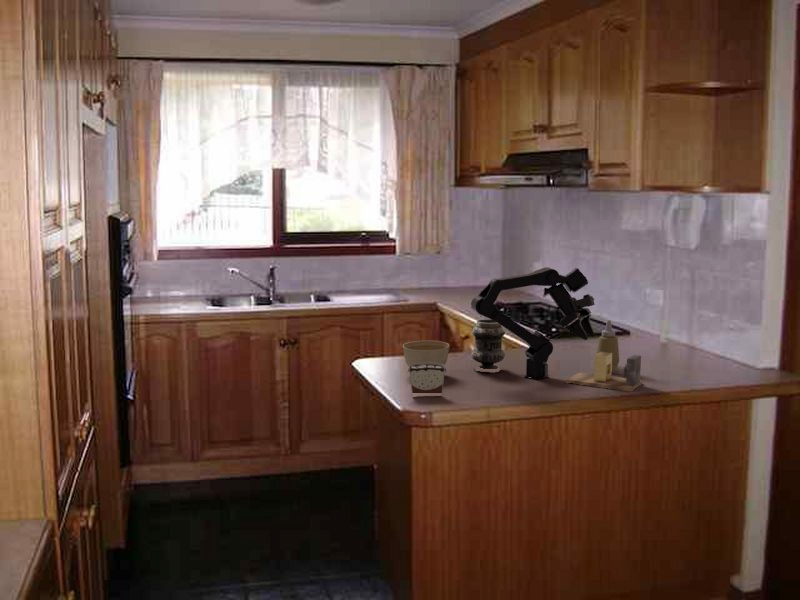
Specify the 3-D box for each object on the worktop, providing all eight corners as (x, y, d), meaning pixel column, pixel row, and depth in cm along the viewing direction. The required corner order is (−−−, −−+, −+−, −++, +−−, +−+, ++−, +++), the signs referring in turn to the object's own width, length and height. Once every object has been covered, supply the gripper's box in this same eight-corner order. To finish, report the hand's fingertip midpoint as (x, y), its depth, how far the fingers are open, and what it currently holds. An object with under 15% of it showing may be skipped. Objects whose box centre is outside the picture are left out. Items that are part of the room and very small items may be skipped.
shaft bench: (566, 383, 289) (566, 353, 287) (578, 375, 299) (579, 347, 297) (631, 391, 277) (632, 361, 276) (642, 383, 287) (643, 354, 286)
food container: (445, 391, 279) (445, 361, 278) (446, 396, 273) (446, 365, 272) (406, 392, 279) (406, 362, 277) (407, 397, 273) (407, 366, 271)
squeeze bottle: (602, 374, 301) (604, 323, 298) (591, 369, 309) (593, 319, 306) (623, 372, 303) (625, 322, 300) (611, 367, 311) (613, 318, 308)
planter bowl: (397, 372, 306) (396, 342, 305) (439, 368, 311) (439, 339, 310) (411, 382, 291) (411, 351, 290) (456, 379, 296) (456, 347, 294)
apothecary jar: (503, 374, 301) (503, 324, 299) (469, 373, 304) (469, 323, 301) (506, 367, 313) (506, 318, 310) (473, 365, 316) (473, 317, 313)
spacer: (593, 380, 287) (594, 355, 285) (599, 376, 292) (600, 351, 290) (605, 381, 285) (606, 356, 283) (611, 378, 290) (612, 352, 288)
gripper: (574, 287, 282) (603, 327, 279) (589, 284, 299) (616, 321, 296) (548, 307, 287) (575, 346, 284) (564, 303, 303) (590, 339, 300)
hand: (590, 337), depth 291 cm, fingers open, 9 cm apart
